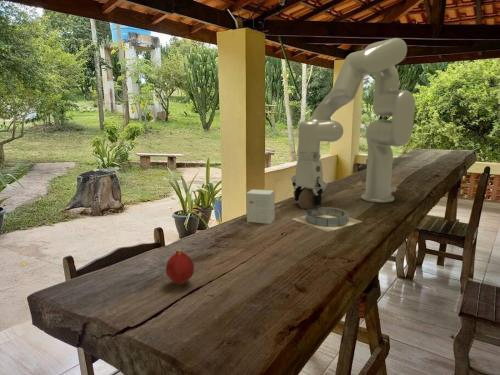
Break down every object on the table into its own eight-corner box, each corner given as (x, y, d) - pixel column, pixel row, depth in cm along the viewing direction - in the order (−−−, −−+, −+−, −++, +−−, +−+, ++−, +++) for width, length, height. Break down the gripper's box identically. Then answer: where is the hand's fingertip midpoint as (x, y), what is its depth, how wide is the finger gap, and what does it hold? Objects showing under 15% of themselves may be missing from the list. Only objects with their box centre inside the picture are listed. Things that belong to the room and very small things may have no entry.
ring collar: (325, 212, 125) (326, 205, 125) (356, 221, 114) (357, 213, 114) (297, 219, 118) (297, 211, 117) (327, 229, 107) (327, 221, 106)
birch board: (325, 212, 127) (325, 210, 127) (362, 223, 114) (362, 221, 114) (291, 221, 118) (291, 218, 118) (327, 234, 105) (327, 231, 105)
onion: (169, 278, 79) (166, 244, 77) (195, 277, 79) (193, 243, 78) (165, 291, 73) (162, 255, 71) (193, 290, 74) (191, 254, 72)
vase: (317, 212, 128) (317, 188, 126) (297, 211, 129) (298, 188, 127) (317, 207, 134) (318, 184, 132) (299, 206, 135) (299, 184, 134)
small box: (274, 221, 118) (274, 190, 116) (270, 226, 113) (270, 194, 111) (252, 219, 121) (251, 188, 119) (246, 224, 116) (245, 192, 114)
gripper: (334, 158, 122) (332, 206, 126) (300, 153, 136) (299, 197, 140) (318, 159, 118) (317, 209, 122) (285, 155, 132) (284, 199, 136)
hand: (307, 202), depth 131 cm, fingers open, 9 cm apart
